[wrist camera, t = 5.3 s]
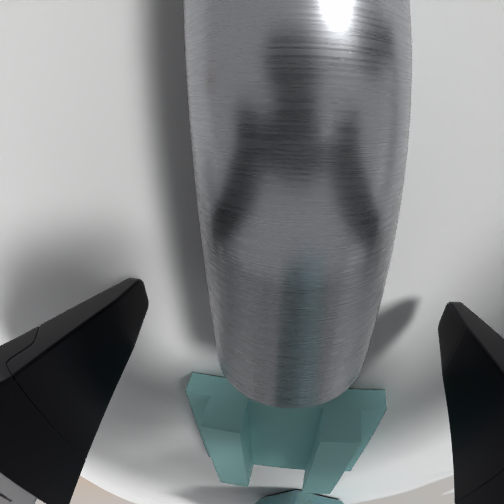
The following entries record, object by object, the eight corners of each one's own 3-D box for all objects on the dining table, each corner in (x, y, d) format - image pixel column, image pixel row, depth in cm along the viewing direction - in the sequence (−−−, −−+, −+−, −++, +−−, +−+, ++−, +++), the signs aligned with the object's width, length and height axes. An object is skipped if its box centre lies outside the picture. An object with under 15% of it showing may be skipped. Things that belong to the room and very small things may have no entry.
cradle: (384, 389, 11) (388, 442, 9) (350, 456, 15) (348, 494, 13) (192, 372, 13) (173, 420, 11) (213, 442, 16) (202, 477, 14)
